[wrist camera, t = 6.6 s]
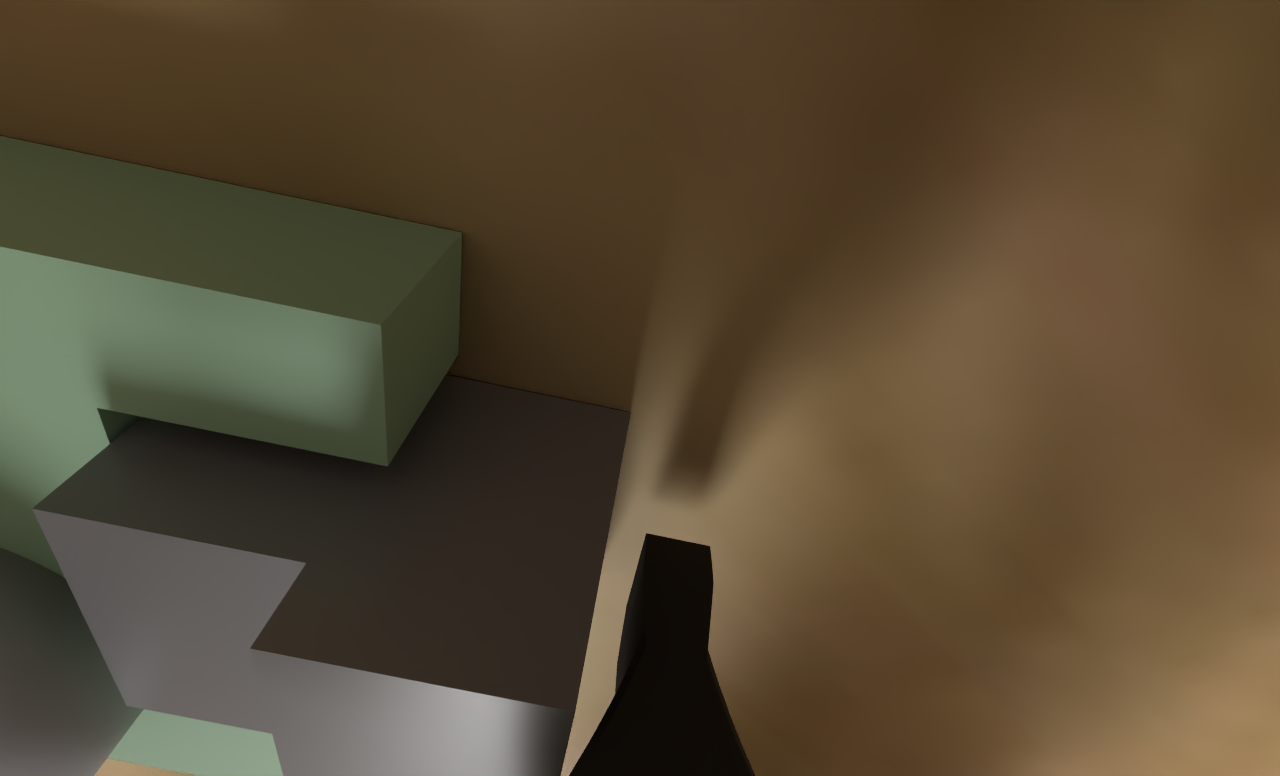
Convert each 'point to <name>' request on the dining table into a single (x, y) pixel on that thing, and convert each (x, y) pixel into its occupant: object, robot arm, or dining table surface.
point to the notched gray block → (355, 582)
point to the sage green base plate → (181, 393)
